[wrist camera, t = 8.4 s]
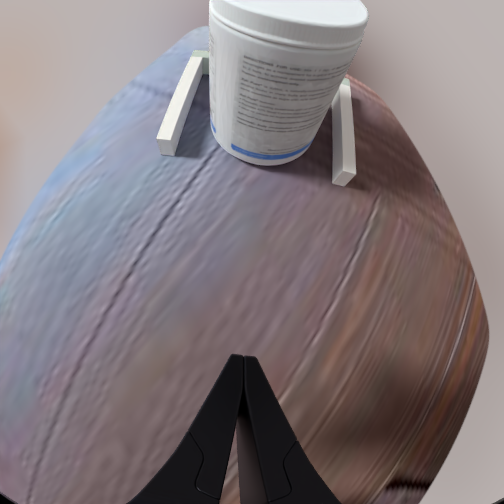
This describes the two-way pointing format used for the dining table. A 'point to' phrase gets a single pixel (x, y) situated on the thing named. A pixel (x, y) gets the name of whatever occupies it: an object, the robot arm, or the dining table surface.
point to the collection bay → (200, 65)
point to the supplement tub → (277, 71)
